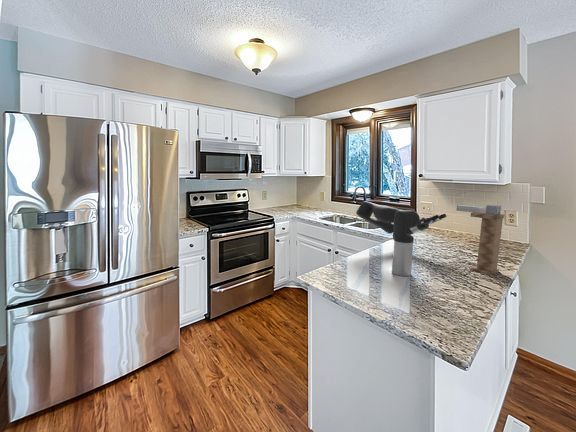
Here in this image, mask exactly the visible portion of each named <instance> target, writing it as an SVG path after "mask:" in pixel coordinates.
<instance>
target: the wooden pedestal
mask: <svg viewBox="0 0 576 432" xmlns="http://www.w3.org/2000/svg"><path fill="white" fill-rule="evenodd" d="M470 217H472V218H479V219H481V224H480V235H479V241H478V242H479V244H478V252H477V259H476V260H477V261H476V264H475V265H472V266H471V267H469V270H470V271H471V272H472V271H473V272H478V273H481V274H484V275H489V276H492V275H494V274H496V273H499V271H500V269H499V268H498V263H499V255H500V254H499V253H500V246H501V239H502V238H501V237H502V228H503V221H504V219H505V214H504V213H500V215H491V214H483V213H473V212H470Z"/></svg>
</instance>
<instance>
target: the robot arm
mask: <svg viewBox="0 0 576 432" xmlns="http://www.w3.org/2000/svg"><path fill="white" fill-rule="evenodd" d="M355 214H356V215H357V216H358V217H359V218H361V219H362V220H364V221H366V222H368V223H369V224H371V225H374V226H376V227H378V228H380V229H381V230H383V231H384V232H386V233H387V234H392V239H393V241H394V242H393V253H392V254H393V255H392V261H391V262H392V264H391V274H393V275H395V276H396V275H397V276H400V277H409V276H411V275H412V267H413V252H414V239H415V238H414V235H413V234H416V233H420V232H421V231H425V230H427V229H429V227H430V225H432V224H434V223H437V222H439V221H442V220H443V219H444V218H447V215H446V213H443V214H440V215H439V214H435V215H432V216H430V217H429V216H428V217H427V218H426V217H420V215H419V214H418V212H416V211H415V210H414V209H400V208H396V207H392V206H388V205H383V204H376V203H373V202H370V201H366V200H365V201H362V203H360V205H359V207H358V208H357V210H356V212H355ZM372 215H374V218H372V217H371V216H372Z"/></svg>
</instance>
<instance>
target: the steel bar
mask: <svg viewBox="0 0 576 432" xmlns="http://www.w3.org/2000/svg"><path fill="white" fill-rule="evenodd" d="M455 211H456V212H465V213H483V214H491V215H500V214H502V213H501V211H502V205H497V204H496V205H495V204H487V205H486V207H485V206H473V205H463V204H459V205H456V210H455Z"/></svg>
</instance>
